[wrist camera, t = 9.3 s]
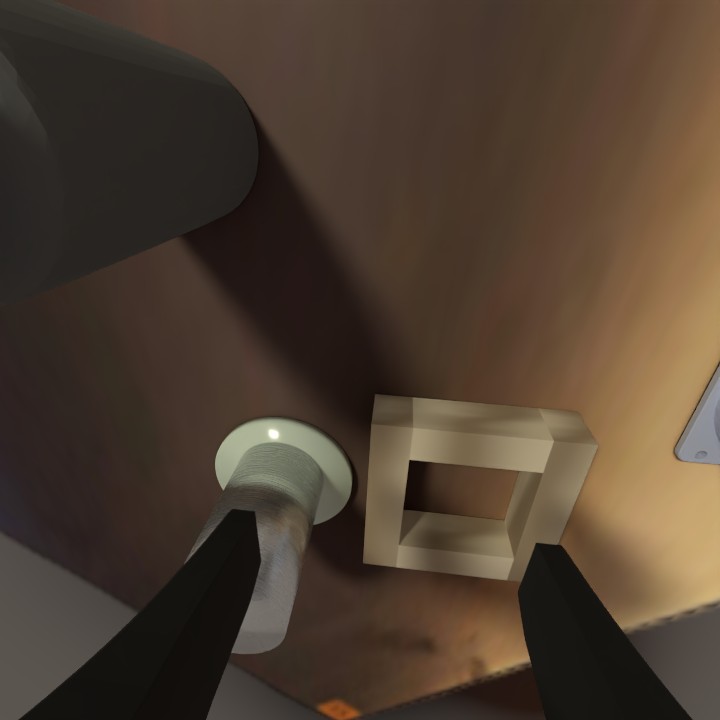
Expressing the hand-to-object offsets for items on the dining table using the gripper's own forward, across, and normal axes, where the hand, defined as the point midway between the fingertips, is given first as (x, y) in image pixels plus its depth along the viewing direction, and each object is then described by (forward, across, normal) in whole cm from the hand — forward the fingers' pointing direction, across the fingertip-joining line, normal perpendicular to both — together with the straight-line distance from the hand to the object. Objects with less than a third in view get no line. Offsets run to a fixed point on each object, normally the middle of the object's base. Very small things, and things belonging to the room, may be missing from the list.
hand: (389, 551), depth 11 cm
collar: (+10, -4, +7) cm, 13 cm away
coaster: (+10, +6, +8) cm, 14 cm away
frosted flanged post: (+10, +6, +8) cm, 14 cm away
